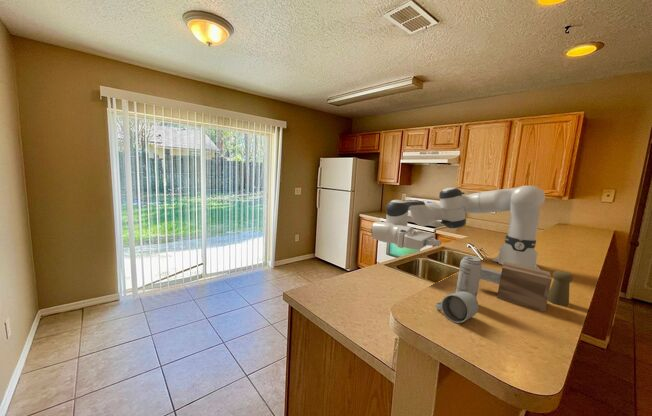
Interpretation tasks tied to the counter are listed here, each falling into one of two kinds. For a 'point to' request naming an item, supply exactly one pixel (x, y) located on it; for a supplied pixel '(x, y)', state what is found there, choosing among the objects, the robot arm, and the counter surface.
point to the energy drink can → (469, 275)
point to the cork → (560, 288)
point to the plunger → (490, 275)
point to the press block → (524, 286)
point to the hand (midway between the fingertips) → (440, 243)
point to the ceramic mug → (458, 306)
